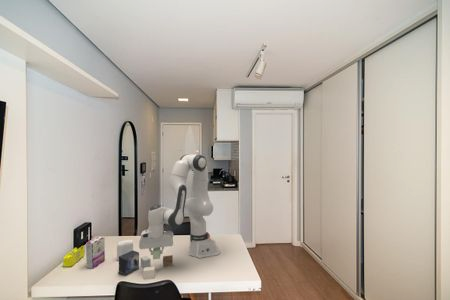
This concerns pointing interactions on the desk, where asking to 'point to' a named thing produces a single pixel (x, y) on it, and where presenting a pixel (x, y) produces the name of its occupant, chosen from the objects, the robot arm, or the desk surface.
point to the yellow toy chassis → (73, 256)
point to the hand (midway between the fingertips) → (156, 254)
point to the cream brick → (149, 272)
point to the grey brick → (145, 261)
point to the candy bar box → (95, 252)
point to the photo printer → (124, 247)
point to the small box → (128, 263)
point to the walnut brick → (168, 260)
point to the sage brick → (156, 253)
